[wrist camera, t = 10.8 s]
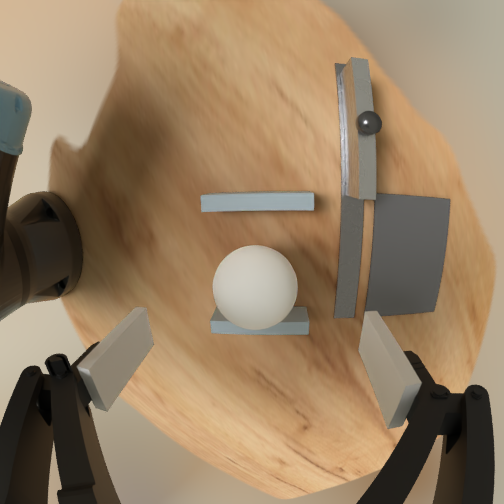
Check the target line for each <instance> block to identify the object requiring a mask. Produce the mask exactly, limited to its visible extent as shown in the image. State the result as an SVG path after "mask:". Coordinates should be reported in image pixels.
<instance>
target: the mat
mask: <svg viewBox="0 0 504 504" xmlns="http://www.w3.org/2000/svg"><path fill="white" fill-rule="evenodd" d="M449 213H450V199H444V198H434V197H422V196H410V195H396V194H379V193H376V200H375V204H374V227H373V242H372V254H371V265H370V274H369V283H368V291H367V298H366V306H365V311H377V312H378V313H379V315H380V316H391V315H403V314H414V313H424V312H433V311H434V310H435V306H436V301H437V297H438V292H439V287H440V282H441V277H442V271H443V265H444V258H445V251H446V244H447V235H448V225H449ZM364 315H365V312H364Z"/></svg>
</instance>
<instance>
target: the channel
mask: <svg viewBox="0 0 504 504" xmlns="http://www.w3.org/2000/svg"><path fill="white" fill-rule="evenodd" d="M262 210H314V193H312V192H310V191H255V192H222V193H208V194H204V195H201V211H202V212H216V211H262ZM210 323H211V332H212V333H219V334H247V335H308V334H309V317H308V313H307V308H306V307H293V308H292V309H291V311H290V312H289V314H288V315H287V316H286V317H285V318H284V319H283V320H282V321H281V322H279V323H278V324H276V325H274V326H271V327H269V328H266V329H261V330H250V329H244V328H241V327H238V326H236V325H235V324H233V323H231V322H230V321H229V320H227V319H226V318H225V317H224V316H223V314H222V313H221V312H220V311H219V309H218V307H216V309H215V311H214V313H213V316H212V318H211V320H210Z"/></svg>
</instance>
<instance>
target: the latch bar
mask: <svg viewBox="0 0 504 504" xmlns="http://www.w3.org/2000/svg"><path fill="white" fill-rule="evenodd" d="M340 77H341V87H342V99H343V112H344V130H345V159H346V195H347V196H350V197H353V198H357V199H368V200H376V139H375V133H377V132H379V131H380V129H381V127H382V121H381V119H380V117H379V116H378V114H376V113H375V112H374V108H373V97H372V87H371V79H370V71H369V64H368V60H367V59H360V58H353V57H351V58H350V59H349V61H348V63H347V64H346V66H345V67H344V69H343V70H342V72H341V73H340Z"/></svg>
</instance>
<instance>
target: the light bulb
mask: <svg viewBox="0 0 504 504" xmlns="http://www.w3.org/2000/svg"><path fill="white" fill-rule="evenodd" d="M297 291H298V283H297V278H296V274H295V272H294V270H293V268H292V266H291V264H290V263H289V261H288V260H287V259H286V258H285V257H284V256H283V255H282V254H281V253H279V252H277V251H276V250H274V249H272V248H269V247H266V246H260V245H250V246H245V247H241V248H239V249H237V250H235V251H233V252H232V253H230V254H229V255H228V256H226V257H225V258H224V260H223V261H222V262H221V263H220V264H219V266H218V268H217V270H216V273H215V276H214V280H213V295H214V300H215V302H216V305H217V307H218V309H219V311H220V312H221V313H222V314H223V316H224V317H225V318H226V319H227V320H229V321H230V322H231V323H233V324H235V325H236V326H238V327H241V328H244V329H250V330H261V329H266V328H269V327H271V326H274V325H276V324H278V323H279V322H281V321H282V320H283V319H284V318H285V317H286V316H287V315H288V314H289V312H290V311H291V309H292V308H293V306H294V304H295V301H296V297H297Z"/></svg>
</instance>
